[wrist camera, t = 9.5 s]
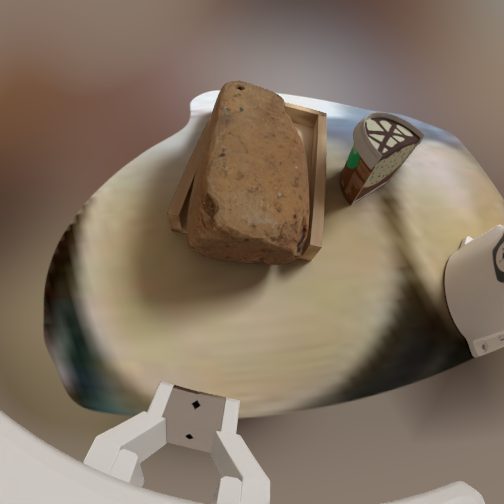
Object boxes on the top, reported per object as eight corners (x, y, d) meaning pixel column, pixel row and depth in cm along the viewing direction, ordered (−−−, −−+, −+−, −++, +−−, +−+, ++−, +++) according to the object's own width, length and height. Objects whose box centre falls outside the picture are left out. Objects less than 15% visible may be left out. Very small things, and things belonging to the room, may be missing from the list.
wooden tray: (319, 129, 39) (326, 113, 36) (311, 261, 30) (321, 247, 27) (223, 108, 39) (224, 90, 36) (172, 230, 29) (167, 213, 26)
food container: (366, 150, 39) (393, 103, 30) (393, 178, 37) (426, 134, 28) (312, 175, 35) (337, 118, 26) (343, 210, 33) (379, 157, 24)
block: (192, 225, 19) (224, 70, 26) (178, 257, 26) (207, 113, 33) (322, 252, 23) (308, 100, 30) (281, 275, 29) (281, 135, 37)
